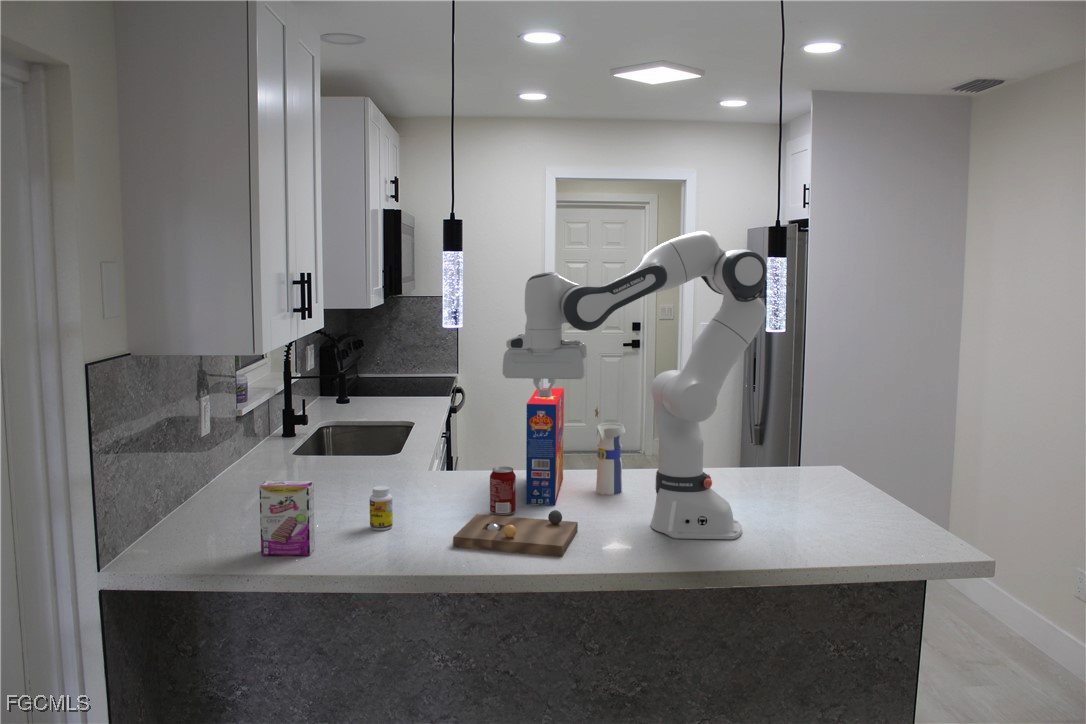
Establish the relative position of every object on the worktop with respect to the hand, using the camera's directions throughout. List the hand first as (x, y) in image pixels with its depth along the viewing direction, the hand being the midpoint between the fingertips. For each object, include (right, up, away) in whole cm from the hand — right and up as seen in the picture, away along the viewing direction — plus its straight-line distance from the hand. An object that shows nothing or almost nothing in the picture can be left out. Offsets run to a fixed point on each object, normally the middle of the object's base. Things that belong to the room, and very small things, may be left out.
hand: (544, 396), depth 208 cm
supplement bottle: (-41, -33, +5) cm, 53 cm away
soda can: (-11, -32, +18) cm, 38 cm away
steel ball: (-12, -32, -2) cm, 34 cm away
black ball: (+3, -29, +1) cm, 30 cm away
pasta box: (0, -29, +39) cm, 49 cm away
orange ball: (-8, -31, -9) cm, 33 cm away
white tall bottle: (+19, -29, +39) cm, 52 cm away
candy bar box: (-58, -35, -13) cm, 69 cm away
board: (-7, -34, -3) cm, 35 cm away
